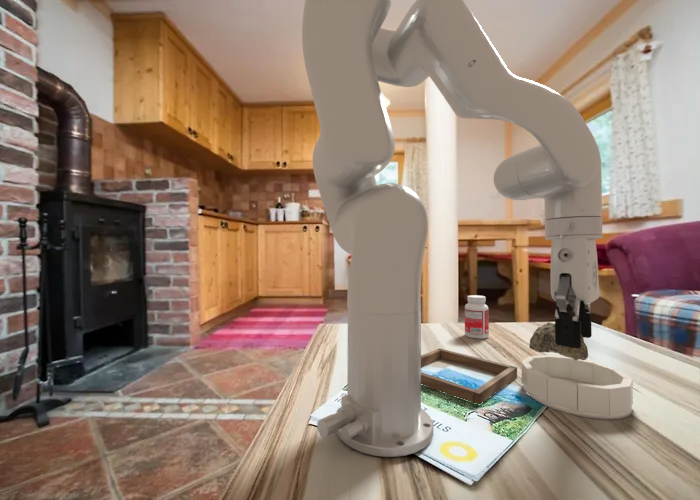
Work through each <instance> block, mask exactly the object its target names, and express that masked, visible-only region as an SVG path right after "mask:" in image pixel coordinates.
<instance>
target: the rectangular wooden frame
mask: <svg viewBox="0 0 700 500" xmlns="http://www.w3.org/2000/svg"><path fill="white" fill-rule="evenodd" d="M439 360H445V361H448V362H453V363H456V364H459V365H463V366H467V367H471V368H474V369H478V370H483V371H485V372H489V373H493V374H497V375H496V376H494V377H493V378H491V379H490V380H487V382H485V383H484V384H482V385H481V386H479V387H477V388H476V389H475V388H471V387H468V386H465V385H461V384H459V383H457V382H452V381H450V380H447V379H443V378H440V377H437V376H434V375H431V374H428V373H424V372H421V384H423V385H426V386H428V387H430V388H432V389H431V390H433V389H435V390H434V391H436V390H439V391H441V392H440V393H442V392H445V393H447V394H450V395H453V396H456V397H459V398H462V399H465V400H468V401H471V402H473V403H477V404H481V403H482V402H484V401H485V400H486V399H488V398H489V397H490V396H492V395H493V394H494V393H495V392H497V391H498V390H499V391H501V390H502V389H503V388H505V387H506V386H507V385H509V384H510V383H511V382H513V381H514V380H515V379H517V378H518V367H517V366H514V365H513V366H512V365H510V364H509V365H508V364H505V363H500V362H497V361H492V360H489V359H483V358H482V357H481V358H480V357H476V356H473V355H469V354H468V355H467V354H463V353H460V352H455V351H451V350H447V349H443V348H437V349H435V350H432V351H429V352H427V353H425V354H421V368H423V367H425V366H428V365H430V364H432V363H434V362H437V361H439ZM506 384H507V385H506ZM505 385H506V386H505ZM504 386H505V387H504ZM502 387H503V388H502ZM430 388H429V389H430ZM501 388H502V389H501ZM500 389H501V390H500ZM439 391H438V392H439ZM499 391H498V392H499ZM498 392H497V393H498ZM447 394H446V395H447ZM450 395H449V396H450ZM494 395H495V394H494ZM494 395H493V396H494ZM453 396H452V397H453ZM493 396H492V397H493ZM456 397H455V398H456ZM490 398H491V397H490ZM490 398H489V399H490ZM489 399H488V400H489ZM486 401H487V400H486ZM486 401H485V402H486ZM485 402H484V403H485ZM473 403H472V404H473ZM482 404H483V403H482ZM482 404H481V405H482Z"/></svg>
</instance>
